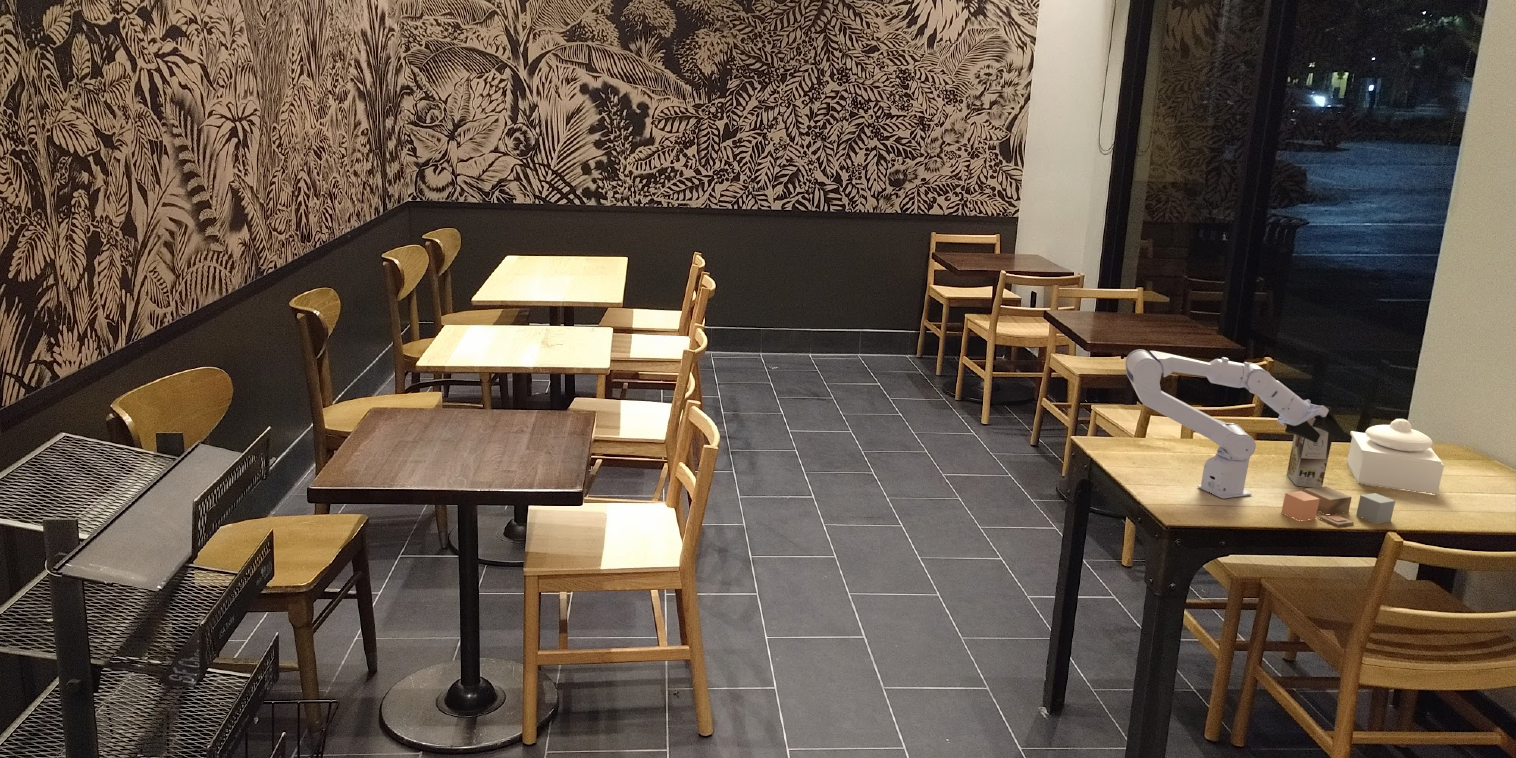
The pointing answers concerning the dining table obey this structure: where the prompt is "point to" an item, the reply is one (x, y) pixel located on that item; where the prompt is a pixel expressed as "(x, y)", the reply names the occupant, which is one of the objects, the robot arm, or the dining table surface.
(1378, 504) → the slate cube
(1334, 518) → the tile
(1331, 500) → the walnut slab
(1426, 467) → the butter dish
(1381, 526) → the dining table surface
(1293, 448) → the coffee box
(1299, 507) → the terracotta cube
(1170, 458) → the dining table surface
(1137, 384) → the robot arm
